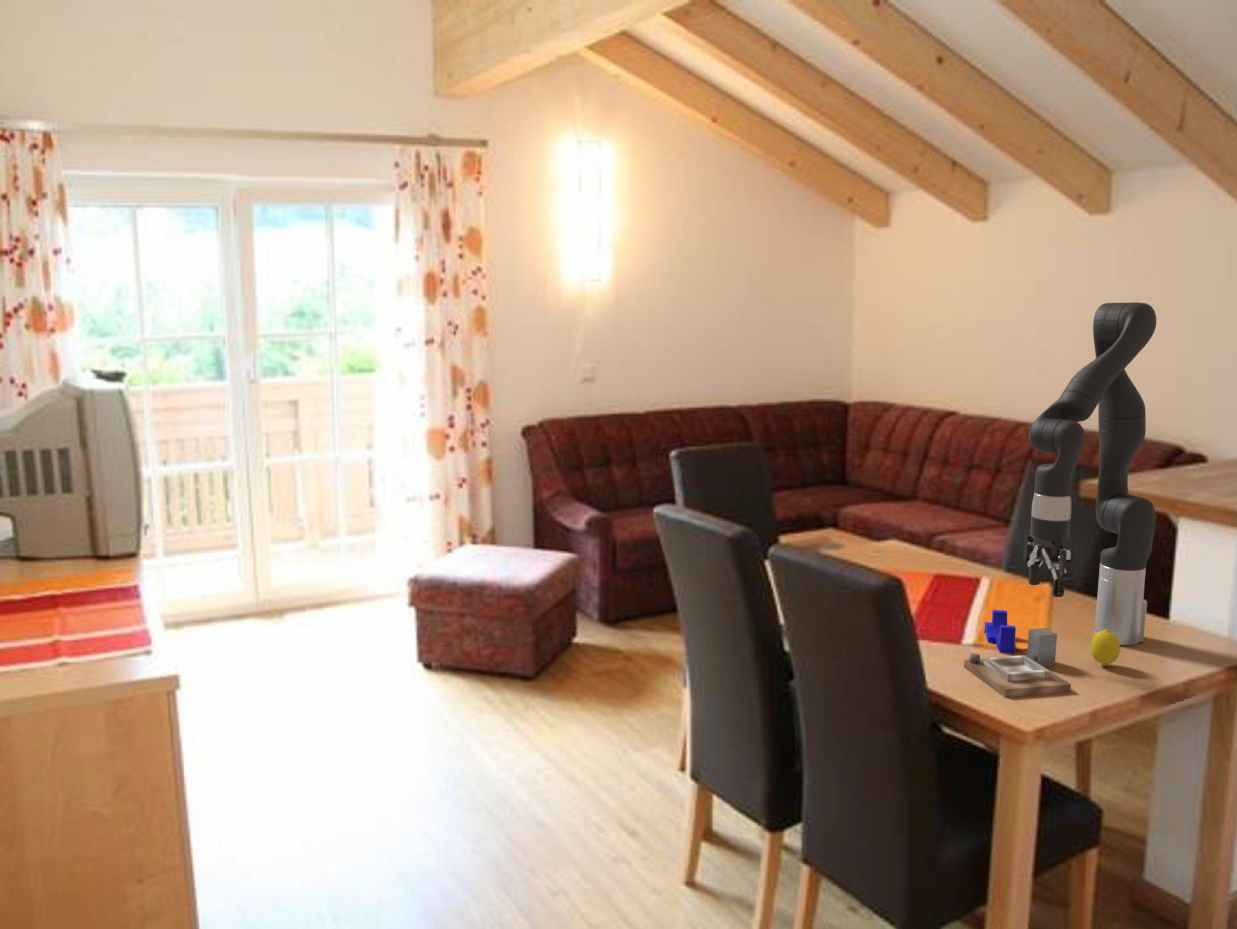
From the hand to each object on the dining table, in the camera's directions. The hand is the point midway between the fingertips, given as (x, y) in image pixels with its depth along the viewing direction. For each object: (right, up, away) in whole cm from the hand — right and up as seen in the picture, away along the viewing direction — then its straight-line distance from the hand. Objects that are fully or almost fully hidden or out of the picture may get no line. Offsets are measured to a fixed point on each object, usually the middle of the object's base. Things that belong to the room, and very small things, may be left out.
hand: (1045, 590), depth 214 cm
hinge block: (0, -16, +3) cm, 16 cm away
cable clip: (-4, -14, +15) cm, 21 cm away
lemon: (+13, -16, +1) cm, 21 cm away
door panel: (-9, -17, -6) cm, 20 cm away
